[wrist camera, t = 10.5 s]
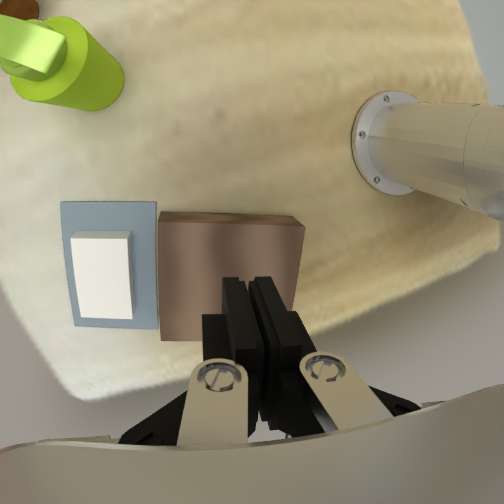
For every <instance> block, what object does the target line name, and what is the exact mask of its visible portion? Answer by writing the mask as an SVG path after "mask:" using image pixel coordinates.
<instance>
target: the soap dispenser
mask: <svg viewBox="0 0 504 504" xmlns="http://www.w3.org/2000/svg"><path fill="white" fill-rule="evenodd" d="M0 65H1V67H2V69H3V70H4V71H5V72H6V73H7V74H9V75H10V80H11V84H12V86H13V88H14V90H15V91H16V92H17V94H18V95H20V96H21V97H22V98H24V99H26V100H29V101H34V102H40V103H47V104H53V105H59V106H65V107H70V108H76V109H81V110H86V111H98V110H102V109H104V108H106V107H108V106H109V105H111V104H112V103H113V102H114V101H115V100H116V99H117V98H118V96H119V95H120V93H121V91H122V88H123V85H124V73H123V70H122V68H121V66H120V64H119V63H118V62H117V61H116V60H115V59H114V58H113V57H112V56H111V55H110V54H109V53H108V52H107V51H106V50H105V49H104V48H103V47H102V46H101V45H100V44H99V43H98V42H97V41H96V40H95V39H94V38H93V36H92V35H91V34H90V33H89V32H88V31H87V30H86V29H85V28H84V27H83V26H82V25H81V24H80V23H78V22H77V21H75V20H74V19H71V18H68V17H53V18H49V19H46V20H44V21H41V20H37V19H30V20H26V21H25V20H21V19H17V18H14V17H10V16H6V15H1V14H0Z"/></svg>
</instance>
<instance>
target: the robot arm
mask: <svg viewBox="0 0 504 504" xmlns="http://www.w3.org/2000/svg"><path fill="white" fill-rule="evenodd" d="M359 133H360V136H359ZM352 150H353V156H354V159H355V162H356V165H357V167H358V169H359V171H360V173H361V175H362V176H363V177H364V179H365V180H366V181H367V182H368V183H369V184H370V185H371V186H373V187H374V188H375V189H377V190H379V191H381V192H384V193H387V194H389V195H405V194H408V193H411V192H413V191H414V190H419V191H422V192H425V193H428V194H431V195H434V196H437V197H439V198H442V199H445V200H448V201H450V202H453V203H456V204H458V205H461V206H464V207H466V208H469V209H471V210H474V211H476V212H479V213H481V214H484V215H486V216H488V217H491V218H493V219H496V220H500V221H504V106H502V105H486V104H464V103H421V102H420V101H419V100H417V99H416V98H415V97H413V96H411V95H409V94H407V93H404V92H400V91H388V92H382V93H379V94H377V95H375V96H373V97H372V98H370V99H369V100H368V101H367V102H366V103H365V104H364V105H363V106H362V107H361V109H360V111H359V113H358V114H357V116H356V119H355V122H354V125H353V131H352ZM202 342H203V362H202V363H200V364H198V365H197V366H196V367H195V368H194V369H193V371H192V373H191V377H190V382H189V387H188V390H187V391H186V392H184V393H183V394H181V395H180V396H178V397H177V398H175V399H174V400H173V401H171V402H170V403H168V404H167V405H166V406H164V407H162V408H161V409H159V410H158V411H156V412H155V413H153V414H152V415H150V416H149V417H148V418H146V419H145V420H143V421H141V422H140V423H138V424H137V425H135V426H134V427H132V428H131V429H129V430H128V431H127V432H125V433H124V434H123V435H122V436H121V438H116V439H111V437H110V435H107V436H96V437H82V438H64V439H45V440H39V441H35V442H29V443H21V444H15V445H12V446H8V447H5V448H2V449H0V504H504V384H499V385H495V386H491V387H487V388H483V389H481V390H478V391H475V392H472V393H469V394H466V395H463V396H460V397H457V398H455V399H451V400H448V401H438V402H428V403H421V404H420V406H418V405H416V404H415V403H413V402H411V401H409V400H406V399H403V398H400V397H397V396H395V395H392V394H389V393H386V392H384V391H381V390H378V389H376V388H373V387H370V386H368V385H367V384H366V383H365V382H364V381H363V380H362V378H361V377H360V376H359V375H358V374H357V372H356V371H355V370H354V369H353V368H352V366H351V365H350V364H349V363H348V362H347V361H346V360H345V359H343V358H342V357H340V356H339V355H337V354H333V353H330V352H317V350H316V348H315V346H314V345H313V342H312V340H311V339H310V337H309V335H308V333H307V331H306V329H305V327H304V325H303V323H302V321H301V319H300V317H299V315H298V313H297V312H296V311H287V309H286V307H285V305H284V303H283V301H282V299H281V296H280V294H279V292H278V290H277V288H276V286H275V284H274V282H273V279H272V277H271V276H258V277H255V278H254V281H249V283H248V290H247V287H246V284H245V281H239V277H222V314H202ZM258 412H259V413H260V417H261V420H262V421H268V425H269V429H270V430H280V431H282V432H284V433H286V435H285V439H281V440H273V441H263V442H254V443H247V439H248V437H249V436H250V435H251V434H252V433H253V432H254V431H255V428H256V422H257V420H258Z"/></svg>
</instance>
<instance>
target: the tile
mask: <svg viewBox="0 0 504 504" xmlns="http://www.w3.org/2000/svg"><path fill="white" fill-rule="evenodd" d="M70 239H71V249H72V259H73V267H74V275H75V283H76V290H77V296H78V302H79V308H80V314H81V317H87V318H110V319H133V316H134V311H135V299H134V285H133V269H132V247H131V231H77V232H76V233H75V234H74V235H73V236H72V237H71V238H70Z"/></svg>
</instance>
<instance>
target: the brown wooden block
mask: <svg viewBox="0 0 504 504" xmlns="http://www.w3.org/2000/svg"><path fill="white" fill-rule="evenodd" d="M304 232H305V226H304V225H302V224H301V223H300V222H299V221H297V220H296V219H295V218H294V217H292V216H274V215H252V214H228V213H198V212H161V213H160V216H159V220H158V290H159V315H160V334H161V341H202V314H222V277H239V281H245V284H246V287H247V290H248V283H249V281H254V278H255V277H258V276H271V277H272V279H273V282H274V284H275V286H276V288H277V290H278V292H279V294H280V296H281V299H282V301H283V303H284V305H285V307H286V309H287V311H292V307H293V302H294V296H295V290H296V284H297V278H298V271H299V265H300V259H301V252H302V246H303V239H304Z"/></svg>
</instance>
